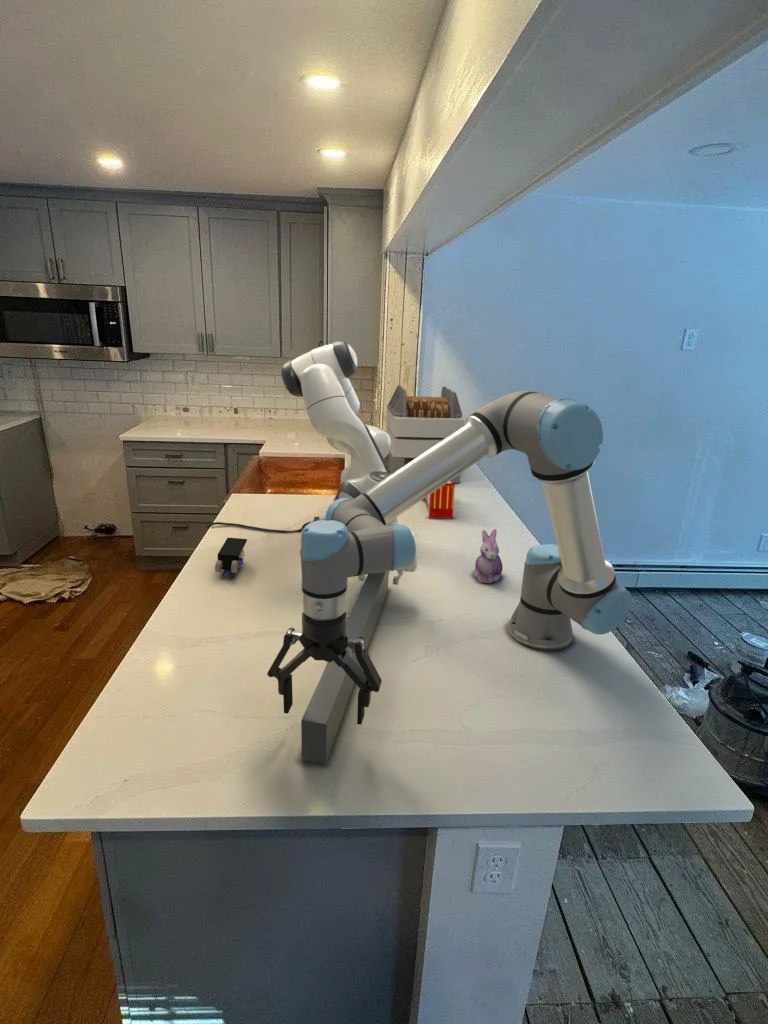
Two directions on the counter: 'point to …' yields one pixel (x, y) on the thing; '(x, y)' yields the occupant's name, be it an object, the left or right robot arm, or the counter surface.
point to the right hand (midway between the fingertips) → (324, 714)
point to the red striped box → (442, 501)
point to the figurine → (488, 559)
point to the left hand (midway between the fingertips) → (378, 581)
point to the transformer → (419, 425)
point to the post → (340, 675)
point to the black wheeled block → (230, 556)
